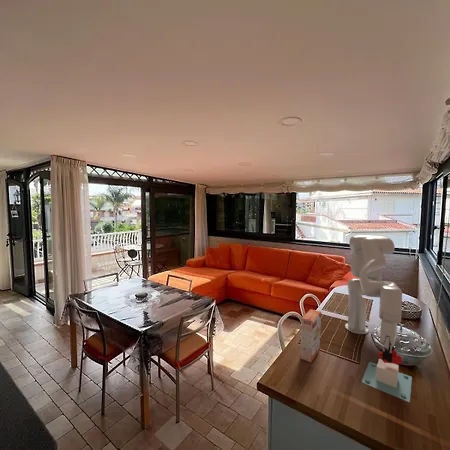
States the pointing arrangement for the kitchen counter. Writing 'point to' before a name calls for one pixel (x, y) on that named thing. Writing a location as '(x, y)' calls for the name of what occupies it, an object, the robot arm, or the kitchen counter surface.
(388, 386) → the baseplate
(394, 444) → the kitchen counter surface
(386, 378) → the base block
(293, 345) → the kitchen counter surface
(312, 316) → the cracker box
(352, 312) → the robot arm
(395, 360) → the bracket
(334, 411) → the kitchen counter surface
